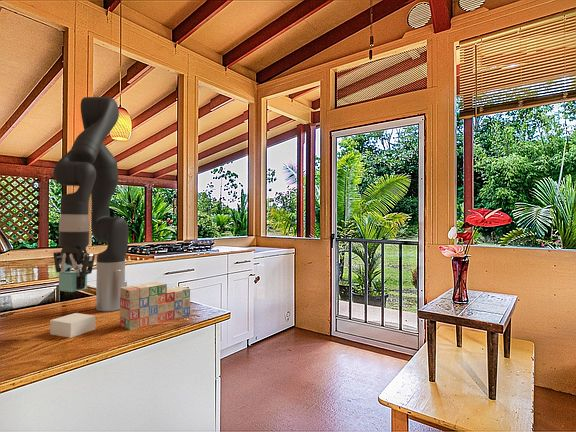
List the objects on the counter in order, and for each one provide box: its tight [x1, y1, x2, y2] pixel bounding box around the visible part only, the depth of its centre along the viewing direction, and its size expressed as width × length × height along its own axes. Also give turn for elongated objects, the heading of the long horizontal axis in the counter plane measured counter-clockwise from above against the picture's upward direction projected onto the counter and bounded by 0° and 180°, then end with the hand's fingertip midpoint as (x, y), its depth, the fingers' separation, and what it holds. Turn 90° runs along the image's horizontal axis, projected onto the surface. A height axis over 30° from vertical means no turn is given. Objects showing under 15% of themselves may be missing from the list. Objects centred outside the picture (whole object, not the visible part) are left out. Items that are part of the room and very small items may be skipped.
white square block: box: [49, 312, 96, 339], centre depth 102 cm, size 8×8×4 cm
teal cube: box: [58, 270, 88, 293], centre depth 101 cm, size 5×5×5 cm
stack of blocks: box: [119, 281, 191, 331], centre depth 114 cm, size 21×6×12 cm, turn 141°
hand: (73, 287), depth 102 cm, fingers closed on teal cube, 5 cm apart
